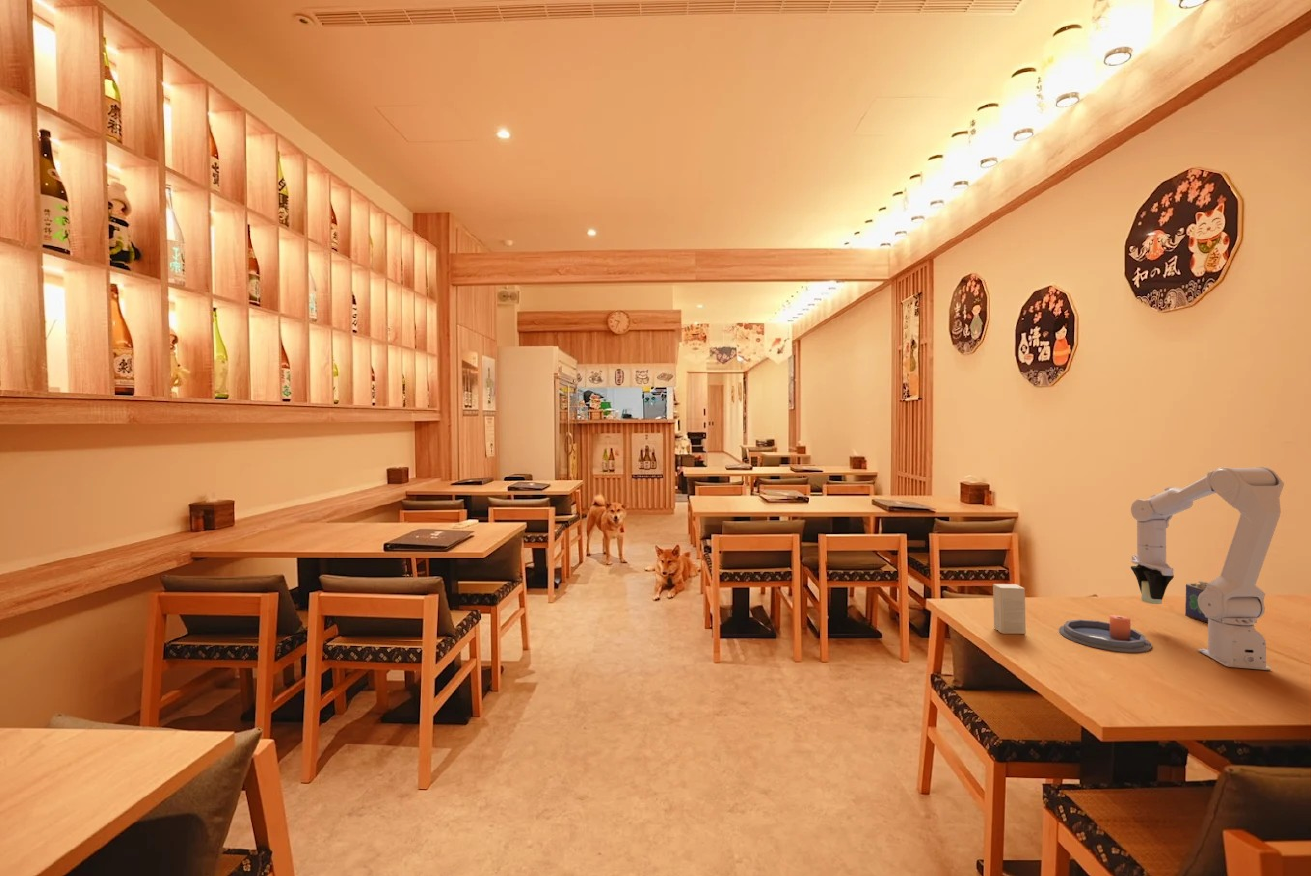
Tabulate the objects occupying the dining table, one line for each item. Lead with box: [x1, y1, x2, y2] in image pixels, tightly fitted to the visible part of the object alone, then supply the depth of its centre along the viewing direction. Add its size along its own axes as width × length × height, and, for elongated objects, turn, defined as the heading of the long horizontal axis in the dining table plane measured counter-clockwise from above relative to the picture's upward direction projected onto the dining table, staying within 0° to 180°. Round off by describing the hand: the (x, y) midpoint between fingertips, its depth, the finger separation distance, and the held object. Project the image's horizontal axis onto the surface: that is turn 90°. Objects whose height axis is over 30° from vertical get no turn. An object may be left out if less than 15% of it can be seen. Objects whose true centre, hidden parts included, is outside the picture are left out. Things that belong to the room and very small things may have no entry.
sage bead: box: [1141, 581, 1163, 605], centre depth 145 cm, size 4×4×5 cm
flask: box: [1184, 580, 1209, 624], centre depth 151 cm, size 9×3×11 cm, turn 2°
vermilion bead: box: [1109, 614, 1131, 641], centre depth 137 cm, size 4×4×5 cm
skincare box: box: [992, 583, 1027, 635], centre depth 144 cm, size 6×4×12 cm
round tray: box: [1058, 619, 1153, 654], centre depth 138 cm, size 18×18×2 cm
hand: (1151, 596), depth 145 cm, fingers closed on sage bead, 4 cm apart
